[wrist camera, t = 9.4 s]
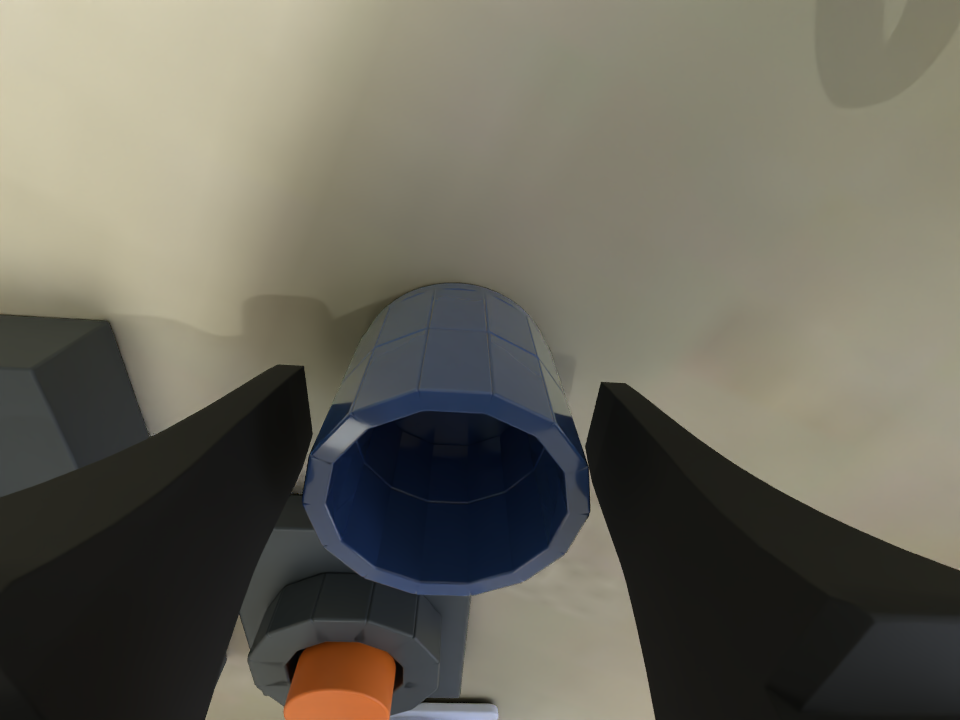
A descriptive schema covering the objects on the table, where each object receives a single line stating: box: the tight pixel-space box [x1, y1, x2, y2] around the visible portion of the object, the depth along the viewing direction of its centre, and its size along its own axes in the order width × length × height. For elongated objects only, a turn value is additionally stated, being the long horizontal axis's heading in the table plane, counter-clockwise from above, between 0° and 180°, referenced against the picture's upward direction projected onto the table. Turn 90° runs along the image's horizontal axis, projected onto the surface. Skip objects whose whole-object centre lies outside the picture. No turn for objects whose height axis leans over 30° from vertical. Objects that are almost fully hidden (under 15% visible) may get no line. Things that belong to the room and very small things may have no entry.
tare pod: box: [239, 495, 471, 716], centre depth 16 cm, size 10×8×3 cm
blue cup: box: [302, 283, 590, 596], centre depth 11 cm, size 5×5×5 cm
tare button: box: [284, 642, 396, 720], centre depth 15 cm, size 3×3×2 cm
